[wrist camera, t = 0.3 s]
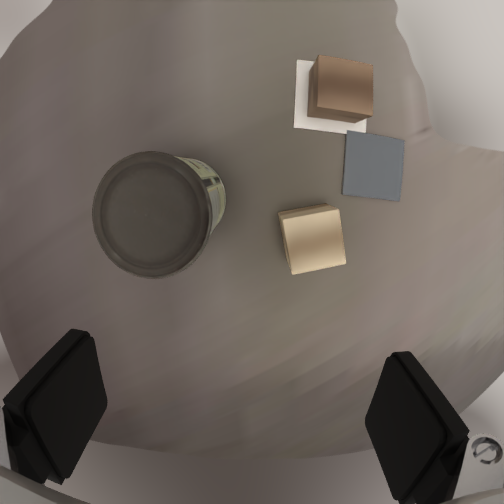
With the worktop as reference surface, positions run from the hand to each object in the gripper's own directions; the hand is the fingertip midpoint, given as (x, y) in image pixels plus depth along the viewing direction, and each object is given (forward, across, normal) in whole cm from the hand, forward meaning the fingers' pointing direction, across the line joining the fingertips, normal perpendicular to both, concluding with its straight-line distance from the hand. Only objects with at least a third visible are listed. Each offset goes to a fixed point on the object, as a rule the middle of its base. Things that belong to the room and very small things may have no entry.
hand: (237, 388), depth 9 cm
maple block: (+30, -7, 0) cm, 31 cm away
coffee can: (+30, +8, -2) cm, 31 cm away
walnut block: (+29, -9, -17) cm, 35 cm away
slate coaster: (+30, -15, -9) cm, 34 cm away
